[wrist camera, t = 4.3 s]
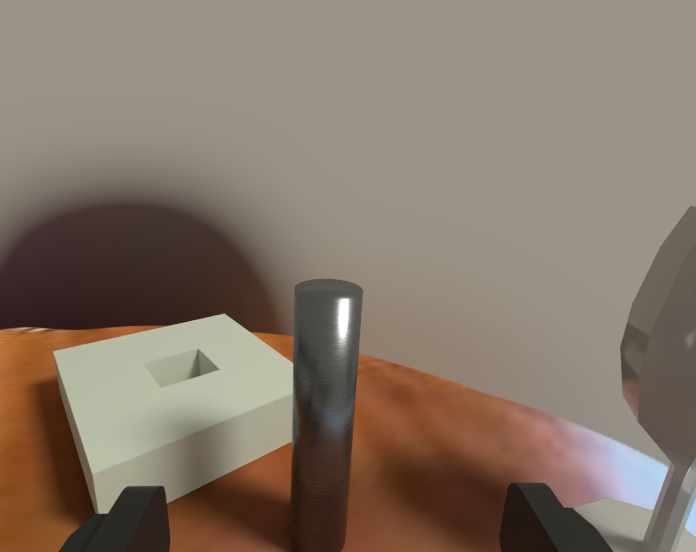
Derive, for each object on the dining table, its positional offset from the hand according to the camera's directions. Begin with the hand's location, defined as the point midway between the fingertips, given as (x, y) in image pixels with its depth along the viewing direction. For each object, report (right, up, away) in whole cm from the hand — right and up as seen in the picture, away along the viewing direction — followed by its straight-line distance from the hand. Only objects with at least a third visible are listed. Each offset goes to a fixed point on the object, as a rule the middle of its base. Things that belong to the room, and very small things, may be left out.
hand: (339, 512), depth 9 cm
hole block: (-14, -7, +26) cm, 30 cm away
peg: (-2, -10, +15) cm, 18 cm away
